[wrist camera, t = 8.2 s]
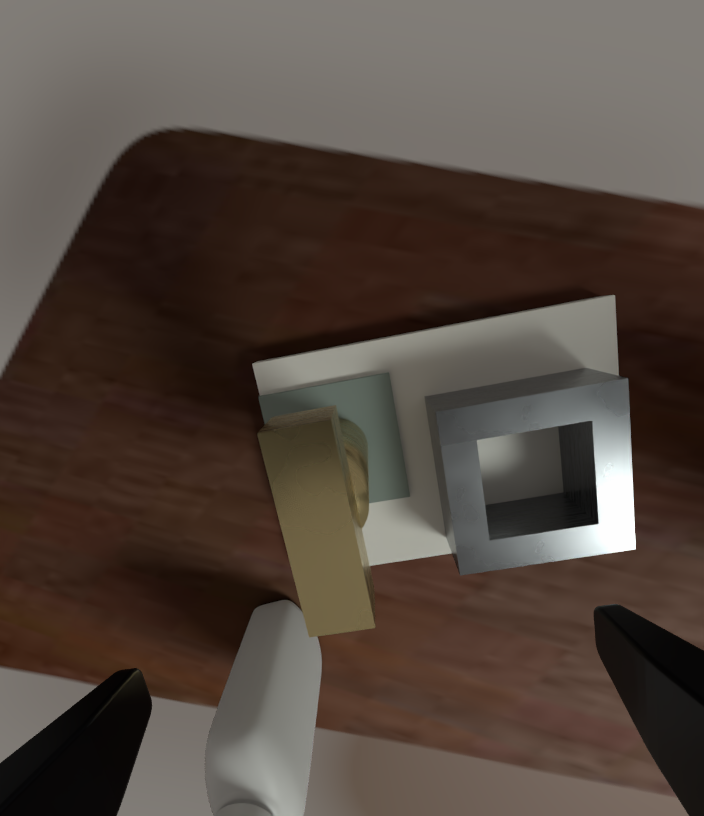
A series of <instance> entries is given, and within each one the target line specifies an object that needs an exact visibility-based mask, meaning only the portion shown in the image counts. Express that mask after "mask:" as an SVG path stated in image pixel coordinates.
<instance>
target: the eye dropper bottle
mask: <svg viewBox="0 0 704 816" xmlns="http://www.w3.org/2000/svg"><path fill="white" fill-rule="evenodd" d="M321 670H322V659H321V650H320V644H319V641H318V638H317V636H316V637H309V635H308V631H307V627H306V624H305V620H304V616H303V612H302V611H301V610H300V608H299V607H298V606H297V605H295V604H294V603H293V602H291V601H289V600H280V601H276V602H272V603H268V604H264V605H261V606H259V607H257V608H255V609H254V611H253V613H252V615H251V618H250V621H249V623H248V626H247V629H246V631H245V634H244V637H243V640H242V642H241V645H240V648H239V650H238V653H237V656H236V658H235V661H234V664H233V667H232V669H231V672H230V675H229V678H228V680H227V683H226V686H225V689H224V691H223V694H222V697H221V700H220V702H219V705H218V708H217V711H216V714H215V717H214V720H213V723H212V725H211V728H210V731H209V735H208V739H207V744H206V751H205V780H206V788H207V794H208V799H209V803H210V807H211V809H212V813H213V815H214V816H303V815H304V810H305V804H306V796H307V789H308V781H309V773H310V765H311V757H312V748H313V740H314V731H315V723H316V715H317V706H318V698H319V689H320V680H321Z"/></svg>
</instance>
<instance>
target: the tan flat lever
mask: <svg viewBox="0 0 704 816" xmlns="http://www.w3.org/2000/svg"><path fill="white" fill-rule="evenodd" d="M257 435H258V439H259V443H260V447H261V451H262V455H263V459H264V463H265V467H266V471H267V475H268V479H269V482H270V486H271V490H272V494H273V498H274V502H275V506H276V510H277V514H278V518H279V522H280V526H281V529H282V533H283V537H284V541H285V545H286V549H287V553H288V557H289V561H290V565H291V569H292V573H293V577H294V580H295V584H296V588H297V592H298V596H299V600H300V604H301V608H302V612H303V616H304V620H305V624H306V627H307V631H308V635H309V637H316V636H322V635H329V634H336V633H343V632H350V631H357V630H364V629H371V628H375V597H374V585H373V580H372V575H371V570H370V566H369V561H368V556H367V551H366V546H365V542H364V537H363V532H362V528H363V526H364V525H365V522H366V520H367V517H368V513H369V473H368V442H367V438H366V436H365V434H364V432H363V431H362V430H361V428H360V427H359V426H357V425H356V424H355V423H353V422H351V421H349V420H346V419H341V418H339V417H338V412H337V408H336V405H334V406H328V407H323V408H317V409H312V410H307V411H301V412H296V413H290V414H285V415H280V416H274V417H272V418H271V419H270V420H269V421H268V422H267V423H266V424H265V425H264V426H263V427H262V429H261V430H260V431H259V432H258V433H257Z"/></svg>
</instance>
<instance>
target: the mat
mask: <svg viewBox="0 0 704 816" xmlns="http://www.w3.org/2000/svg"><path fill="white" fill-rule="evenodd" d="M258 398H259V402H260V407H261V411H262V415H263V419H264V423H265V424H266V423H267V422H268V421H269V420H270V419H271V418H272V417H274V416H280V415H285V414H290V413H296V412H301V411H307V410H312V409H317V408H323V407H328V406H334V405H336V408H337V412H338V417H339V418H341V419H346V420H349V421H351V422H353V423H355V424H356V425H357V426H359V427H360V428H361V430H362V431H363V432H364V434H365V436H366V438H367V442H368V473H369V503H375V502H381V501H387V500H393V499H399V498H405V497H410V492H409V486H408V480H407V474H406V468H405V462H404V457H403V451H402V445H401V439H400V433H399V427H398V421H397V416H396V410H395V404H394V398H393V392H392V386H391V381H390V375H389V372H387V373H381V374H376V375H370V376H365V377H360V378H354V379H349V380H343V381H338V382H332V383H327V384H322V385H316V386H311V387H305V388H300V389H294V390H289V391H284V392H278V393H273V394H267V395H262V396H259V397H258Z"/></svg>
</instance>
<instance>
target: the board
mask: <svg viewBox="0 0 704 816" xmlns="http://www.w3.org/2000/svg"><path fill="white" fill-rule="evenodd" d="M252 366H253V370H254V374H255V378H256V382H257V386H258V390H259V395H260V396H262V395H267V394H273V393H278V392H284V391H289V390H294V389H300V388H305V387H311V386H316V385H322V384H327V383H332V382H338V381H343V380H349V379H354V378H360V377H365V376H370V375H376V374H381V373H387V372H389V375H390V381H391V386H392V392H393V398H394V404H395V410H396V416H397V421H398V427H399V433H400V439H401V445H402V451H403V457H404V462H405V468H406V474H407V480H408V486H409V492H410V497H405V498H399V499H393V500H387V501H381V502H375V503H369V513H368V517H367V520H366V522H365V525H364V526H363V528H362V532H363V537H364V542H365V546H366V551H367V556H368V561H369V566H371V565H378V564H384V563H391V562H398V561H404V560H411V559H417V558H424V557H430V556H437V555H443V554H450V553H452V552H451V549H450V547H449V544H448V541H447V539H446V534H445V527H444V521H443V514H442V508H441V501H440V495H439V488H438V482H437V475H436V469H435V462H434V456H433V449H432V443H431V436H430V430H429V423H428V417H427V410H426V404H425V396H431V395H436V394H442V393H447V392H453V391H458V390H464V389H470V388H475V387H481V386H486V385H492V384H498V383H503V382H509V381H514V380H520V379H526V378H531V377H537V376H542V375H548V374H553V373H559V372H565V371H570V370H576V369H581V368H589V369H593V370H597V371H601V372H605V373H610V374H614V375H618V376H619V367H618V347H617V326H616V305H615V295H608V296H599V297H594V298H588V299H583V300H578V301H572V302H567V303H562V304H557V305H551V306H546V307H541V308H536V309H530V310H525V311H520V312H515V313H509V314H504V315H499V316H493V317H488V318H483V319H478V320H472V321H467V322H462V323H457V324H451V325H446V326H441V327H436V328H430V329H425V330H420V331H415V332H409V333H404V334H399V335H393V336H388V337H383V338H378V339H372V340H367V341H362V342H357V343H351V344H346V345H341V346H336V347H330V348H325V349H320V350H314V351H309V352H304V353H299V354H293V355H288V356H283V357H278V358H272V359H267V360H262V361H257V362H255V363H253V364H252ZM477 447H478V454H479V462H480V470H481V478H482V485H483V493H484V501H485V505H488V504H495V503H501V502H507V501H513V500H520V499H526V498H532V497H539V496H545V495H551V494H557V493H564V491H563V479H562V467H561V455H560V442H559V430H558V426H557V427H551V428H545V429H539V430H533V431H527V432H521V433H516V434H510V435H504V436H498V437H492V438H486V439H480V440H477Z"/></svg>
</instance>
